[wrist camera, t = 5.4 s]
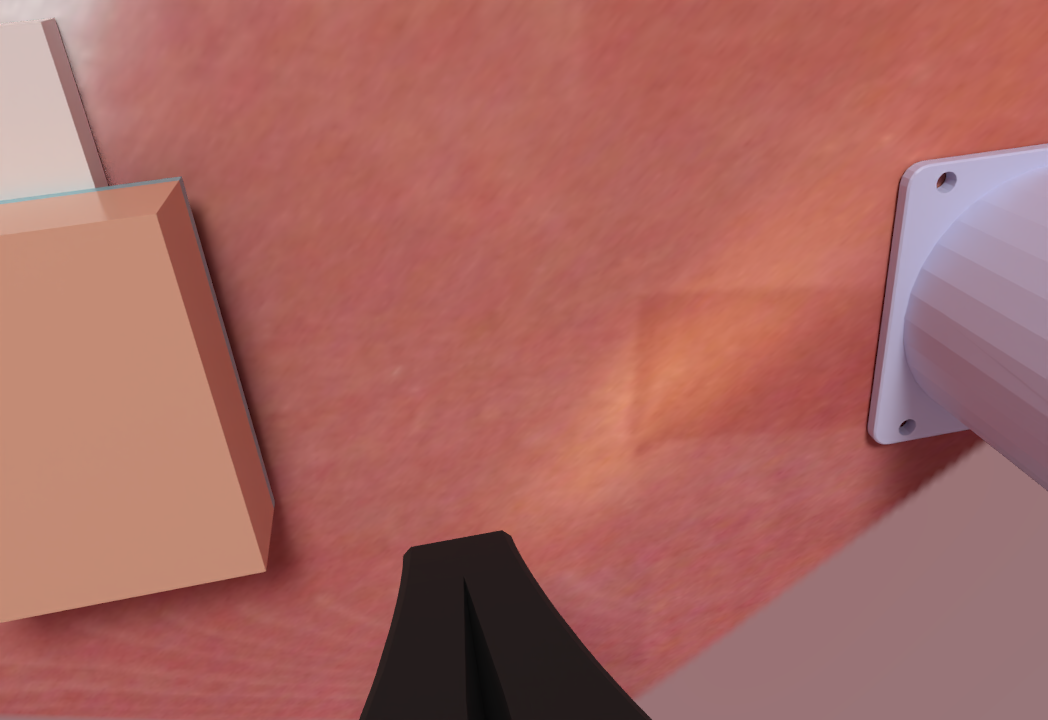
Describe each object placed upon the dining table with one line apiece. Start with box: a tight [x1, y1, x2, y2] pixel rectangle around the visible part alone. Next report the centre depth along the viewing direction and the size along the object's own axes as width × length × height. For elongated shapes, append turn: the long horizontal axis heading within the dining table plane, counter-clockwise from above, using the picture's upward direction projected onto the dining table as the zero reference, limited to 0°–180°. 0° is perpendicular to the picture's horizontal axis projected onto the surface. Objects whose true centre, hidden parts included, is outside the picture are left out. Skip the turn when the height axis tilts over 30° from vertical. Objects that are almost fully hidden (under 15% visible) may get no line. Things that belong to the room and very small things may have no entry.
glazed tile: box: [0, 176, 275, 623], centre depth 17 cm, size 2×8×7 cm
